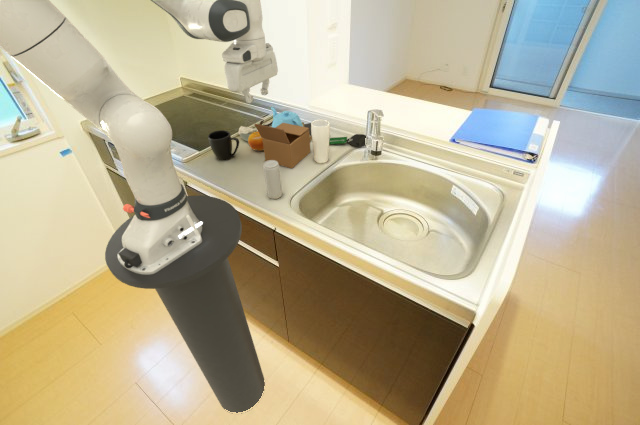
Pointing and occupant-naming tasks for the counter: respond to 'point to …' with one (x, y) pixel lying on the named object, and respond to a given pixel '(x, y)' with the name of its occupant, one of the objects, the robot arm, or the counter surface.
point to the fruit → (256, 141)
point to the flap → (272, 133)
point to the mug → (222, 144)
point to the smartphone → (308, 127)
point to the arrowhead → (246, 130)
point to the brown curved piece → (267, 124)
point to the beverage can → (272, 179)
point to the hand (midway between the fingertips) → (257, 98)
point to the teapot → (285, 118)
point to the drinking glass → (320, 140)
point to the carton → (288, 146)
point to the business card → (338, 140)
